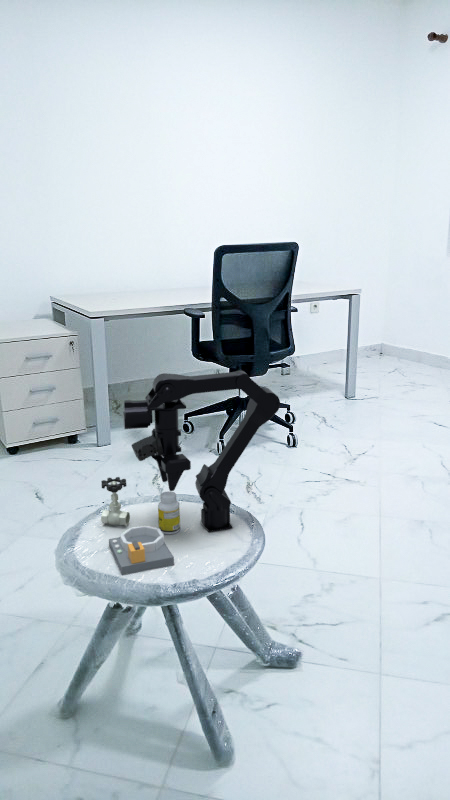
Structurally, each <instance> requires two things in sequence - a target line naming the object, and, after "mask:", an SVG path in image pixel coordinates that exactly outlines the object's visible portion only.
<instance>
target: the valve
mask: <svg viewBox="0 0 450 800" xmlns="http://www.w3.org/2000/svg"><path fill="white" fill-rule="evenodd" d="M106 479H107V480H106ZM106 479H104V480H103V479H102V480H101V489H103V490H104V489H105V488H106V491H107V492H110V493H111V494H110V500H111V502H110V503H109V504H108V506H109V507H108V508H109V509H103V510H102V511H101V514H100V515H101V516H100V521H101V523H102V524H108V525H111V526H113V527H115V526H116V527H117V526H121V525H122V526H129V524H130V521H131V514H130V513H131V512H129V511H122V510H121V508H122V504H121V502H119V494H118V492H119V491H121V490H122V489H123V488H126V487H127V479H126V478H122V479H121V477H120V476H116V477H115V478H112V477H107V478H106Z"/></svg>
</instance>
